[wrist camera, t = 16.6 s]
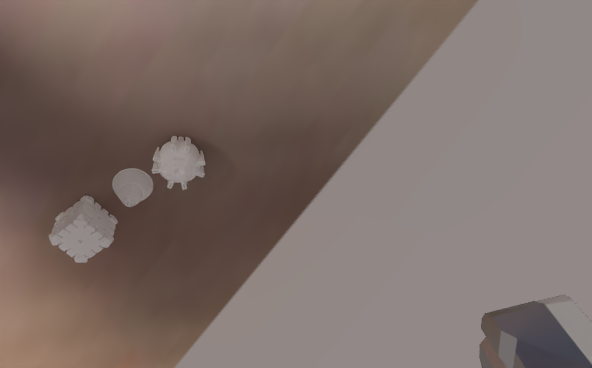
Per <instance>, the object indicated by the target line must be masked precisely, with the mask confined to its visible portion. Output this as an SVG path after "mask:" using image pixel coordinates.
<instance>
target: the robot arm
mask: <svg viewBox="0 0 592 368" xmlns="http://www.w3.org/2000/svg"><path fill="white" fill-rule="evenodd" d="M481 328H482V330H483V332H484V334H485V335H486V338H485V339H484V340H483V341H482V342H481V344H480V361H481V365H482V368H592V322H591V320H590V319H589V318H588V317H587V316H586V315H585V314H584V312H582V310H581V309H580V308H579V307H578V306H577V305H576V303H575V302H574V301H573V300H572V299H571V298H570V297H568V296H566V295H561V296H556V297H552V298H548V299H544V300H540V301H537V302H536V301H533V302H529V303H525V304H521V305H517V306H513V307H509V308H505V309H501V310H497V311H493V312H489V313H485V315H484V316H483V318H482V324H481Z"/></svg>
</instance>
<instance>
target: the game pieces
mask: <svg viewBox="0 0 592 368" xmlns="http://www.w3.org/2000/svg"><path fill="white" fill-rule="evenodd" d="M159 148H160V147H159V146H158V148H157V149H156V151H155V154H154V156H153V159H152V161H154V164H153V168H152V174H155V173H160V174H161V175H162V177H164V178H165V179H166V180H168V185H167V188H169V189H172V187H173V184H174V182H176V183H181V186H182V190H185V189H187V181H191V180H192V179H194V178H195V177H196V176H199V177H202V178H203V177H204V175H205V173H204V167H203V165H206V164H205V159H204V155H203V152H202V150H201V151H200V152H201V154H199V151H198V149H197V148H196V146H195V145H194V144H191V139H190V138H189V137H186V138H185V141H184V138H183V137H178V140H177V136H172V138H171V142H170V141H169V142H167V143H165V144H164V145H163V146H162V148H161V150H159ZM112 187H113V190H114V192H115V194H116V195H117V196H118V197H119V199H120V200H121V202H122V203H123V204H124V205H125V206H127V207H133V206H135V205H137V204H138V203H139V202H140V201H143V200H145V199H146V198H147V197H148V196H150V194H151V193H152V191H153V181H152V179H151V177H150V176H149V175H148V174H147V173H146V172H144V171H142V170H139V169H135V168H128V169H124V170H121V171H120V172H118V173H117V174H116V175H115V177H114V178H113V181H112ZM101 207H102V206H100V205H99V204H98V203H97V202H95V203H94V199H93V198H92V197H91V196H88V195H85V196H83V197H82V198H81V200H80V201H78V202H77V203H75V204H74V205H73V207H72V206H71V207H70V208H68V209H67V210H66V212H61V213H60V214H59V215H58V216H57V217H56V218H55V220H56V222H55V224H54V228H53V229H52V233H51V234H50V235H49V236H48V237H49V239H50V241H51V244H52V245H53V246H54V245H58V244H59V246H58V248H60V249H61V250H62V251H66V250H67V252H66V254H68V255H69V256H70V257H73V256H75V257H74V260H75V262H76V263H86V262H87V261H88V258H91V257H93V256H94V255H95V254H96V253H98V252H100V251H101V250H103V247H104V248H108V247H109V246H110V244H111V243H112V242H113V241H114V238H113V237H112V236H114V230H115V227H116V224H117V223H118V221H117V219H116V217H115V216H113V215H111V214H110V215H108V213H109V212H107V211H106V210H105V209H104V208H103V209H101Z"/></svg>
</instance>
